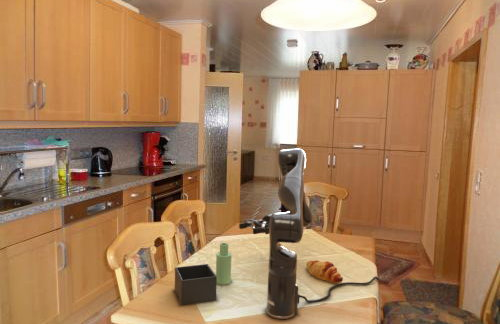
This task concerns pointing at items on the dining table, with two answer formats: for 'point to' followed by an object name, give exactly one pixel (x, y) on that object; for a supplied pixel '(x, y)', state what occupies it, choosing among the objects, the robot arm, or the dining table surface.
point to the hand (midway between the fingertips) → (246, 228)
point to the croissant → (324, 271)
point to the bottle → (223, 265)
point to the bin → (195, 284)
